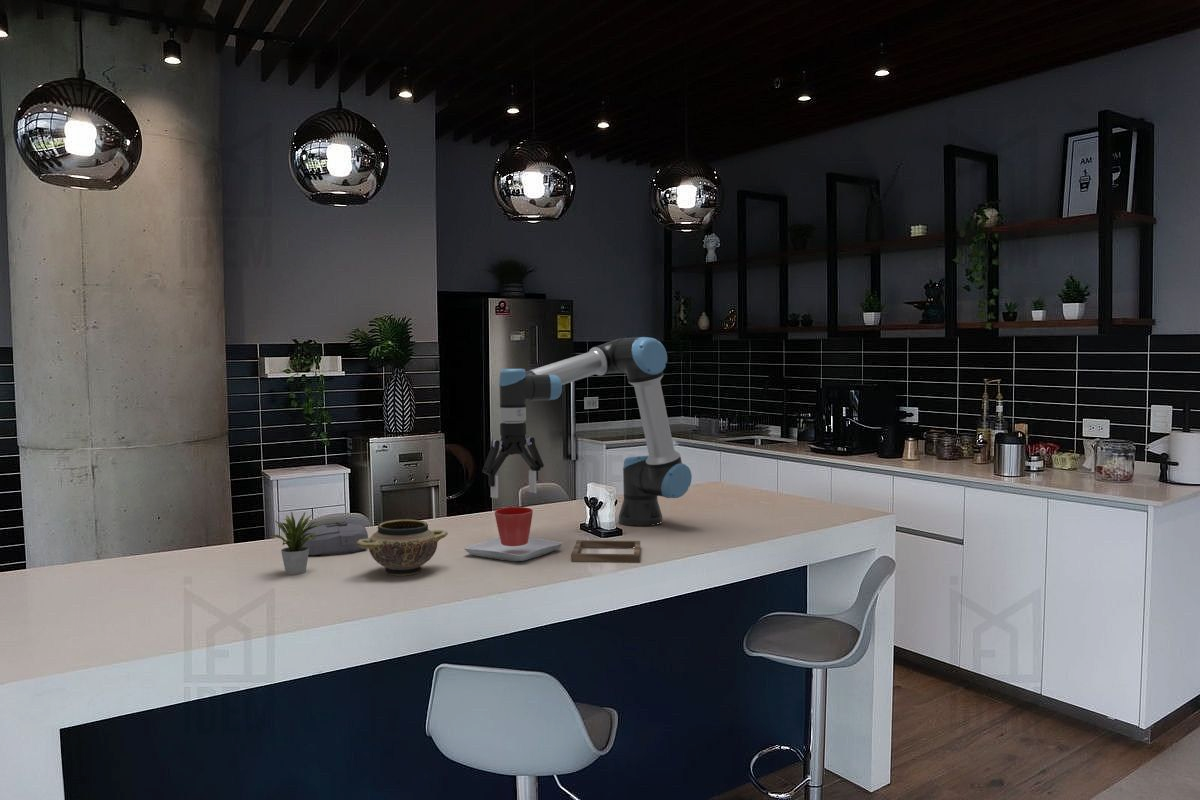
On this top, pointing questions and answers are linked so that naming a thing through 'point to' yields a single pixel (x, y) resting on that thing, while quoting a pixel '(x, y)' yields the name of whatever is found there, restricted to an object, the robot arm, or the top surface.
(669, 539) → the top surface
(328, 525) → the soft grey pack
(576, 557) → the holder frame
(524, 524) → the flower pot
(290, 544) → the house plant
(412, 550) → the ceramic bowl
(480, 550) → the salad plate
